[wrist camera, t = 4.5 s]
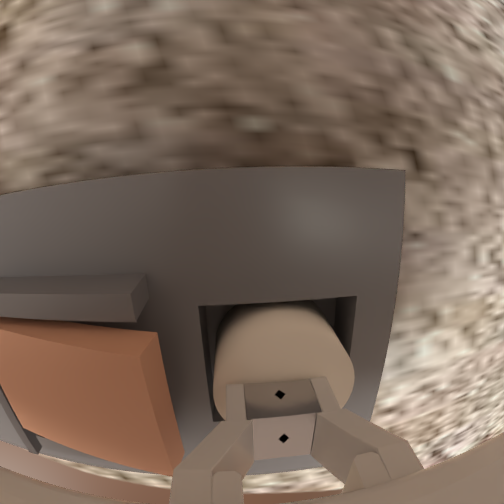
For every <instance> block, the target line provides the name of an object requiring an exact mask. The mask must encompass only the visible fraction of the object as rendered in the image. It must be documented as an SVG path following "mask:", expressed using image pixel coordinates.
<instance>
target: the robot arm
mask: <svg viewBox="0 0 504 504" xmlns="http://www.w3.org/2000/svg"><path fill="white" fill-rule="evenodd" d="M309 454H311V456H312V457H313V458H314V459H315V460H317V461H318V462H319V463H320V464H321V465H322V466H324V467H325V468H326V469H327V470H328V471H329V472H331V473H332V474H333V475H334V476H335V477H337V478H338V479H339V480H340V481H342V482H343V483H344V484H345V486H344V488H343V491H342V494H338V495H333V496H328V497H322V498H316V499H310V500H304V501H297V502H290V503H281V504H504V432H503V433H501V434H499V435H498V436H496V437H494V438H492V439H490V440H488V441H486V442H484V443H482V444H481V445H479V446H477V447H475V448H472V449H470V450H468V451H466V452H464V453H462V454H460V455H458V456H455V457H453V458H451V459H448V460H446V461H444V462H441V463H439V464H436V465H434V466H431V467H429V468H426V469H424V468H423V466H422V464H421V463H420V461H419V459H418V458H417V456H416V454H415V453H414V451H413V449H412V448H411V446H410V444H409V443H408V441H407V440H405V439H403V438H401V437H399V436H397V435H395V434H393V433H391V432H389V431H387V430H385V429H383V428H381V427H379V426H377V425H375V424H373V423H371V422H370V421H368V420H366V419H364V418H362V417H360V416H358V415H357V414H355V413H353V412H351V411H349V410H347V409H341V408H340V406H339V404H338V401H337V399H336V397H335V395H334V393H333V391H332V388H331V386H330V384H329V382H328V380H327V378H326V377H325V376H321V377H314V378H308V379H302V380H293V381H283V382H266V383H244V385H243V384H226V421H221V422H220V423H219V424H218V425H217V426H216V427H215V428H214V429H213V430H212V431H211V432H210V433H209V434H208V435H207V436H206V437H205V439H204V440H203V441H202V442H201V443H200V444H199V445H198V446H197V447H196V448H195V449H194V450H193V451H192V452H191V453H190V454H189V455H188V456H187V457H186V458H185V459H184V460H183V461H182V462H181V463H180V464H179V465H178V466H177V467H176V468H174V470H173V478H172V485H171V493H170V501H169V504H244V499H243V488H242V480H243V479H244V477H245V475H246V474H247V472H248V471H249V469H250V468H251V466H252V464H253V463H254V460H263V459H272V458H280V457H291V456H300V455H309ZM0 504H147V503H138V502H130V501H124V500H117V499H111V498H106V497H101V496H96V495H91V494H87V493H83V492H78V491H74V490H70V489H66V488H63V487H59V486H56V485H52V484H49V483H46V482H42V481H39V480H36V479H33V478H30V477H27V476H24V475H22V474H19V473H16V472H13V471H11V470H8V469H6V468H3V467H1V466H0Z"/></svg>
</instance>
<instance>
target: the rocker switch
mask: <svg viewBox="0 0 504 504" xmlns="http://www.w3.org/2000/svg"><path fill="white" fill-rule="evenodd" d="M0 384H1V386H2V389H3V391H4V393H5V395H6V397H7V399H8V401H9V403H10V405H11V406H12V408H13V410H14V412H15V414H16V416H17V418H18V419H19V421H20V423H21V425H22V426H23V428H25V429H27V430H29V431H31V432H33V433H36V434H38V435H40V436H42V437H45V438H47V439H49V440H52V441H54V442H57V443H59V444H62V445H64V446H67V447H69V448H72V449H75V450H77V451H80V452H83V453H86V454H89V455H92V456H95V457H98V458H101V459H104V460H107V461H111V462H114V463H117V464H121V465H125V466H128V467H132V468H136V469H140V470H144V471H148V472H153V473H157V474H162V475H167V476H172V477H173V470H174V468H176V467H177V466H178V465H179V464H180V463H181V461H182V459H183V456H184V453H185V451H184V448H183V444H182V440H181V437H180V433H179V429H178V425H177V421H176V418H175V414H174V409H173V405H172V401H171V397H170V393H169V388H168V384H167V379H166V374H165V370H164V365H163V360H162V355H161V350H160V344H159V339H158V333H157V332H148V331H138V330H128V329H119V328H111V327H103V326H95V325H87V324H80V323H73V322H67V321H60V320H42V319H26V318H11V317H0Z"/></svg>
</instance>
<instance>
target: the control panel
mask: <svg viewBox="0 0 504 504" xmlns="http://www.w3.org/2000/svg"><path fill="white" fill-rule="evenodd" d="M404 204H405V170H394V169H379V168H360V167H324V166H272V167H236V168H213V169H196V170H181V171H168V172H156V173H145V174H135V175H126V176H117V177H108V178H100V179H92V180H85V181H78V182H71V183H64V184H58V185H51V186H45V187H39V188H34V189H28V190H23V191H17V192H12V193H7V194H2V195H0V317H11V318H26V319H42V320H60V321H67V322H73V323H80V324H87V325H95V326H103V327H111V328H119V329H128V330H138V331H148V332H157V333H158V339H159V344H160V350H161V355H162V360H163V365H164V370H165V374H166V379H167V384H168V388H169V393H170V397H171V401H172V405H173V409H174V414H175V418H176V421H177V425H178V429H179V433H180V437H181V440H182V444H183V448H184V451H185V453H184V456H183V459H182V461H183V460H184V459H185V458H186V457H187V456H188V455H189V454H190V453H191V452H192V451H193V450H194V449H195V448H196V447H197V446H198V445H199V444H200V443H201V442H202V441H203V440H204V439H205V437H206V436H207V435H208V434H209V433H210V432H211V431H212V430H213V429H214V428H215V427H216V426H217V425H218V424H219V423H220V422H221V421H225V420H224V419H223V418H222V417H221V415H220V414H219V412H218V410H217V408H216V406H215V403H214V398H213V382H214V364H215V347H216V336H217V332H218V328H219V326H220V324H221V322H222V320H223V318H224V317H225V315H226V314H227V313H228V312H229V311H230V310H231V309H232V308H233V307H234V306H235V305H236V304H251V303H268V302H284V301H299V300H311V301H312V302H313V303H314V304H316V305H317V306H318V308H319V309H320V310H321V311H322V313H323V314H324V316H325V317H326V319H327V321H328V322H329V324H330V326H331V327H332V329H333V331H334V332H335V334H336V336H337V337H338V339H339V341H340V342H341V344H342V346H343V347H344V349H345V351H346V352H347V354H348V356H349V357H350V359H351V362H352V364H353V368H354V375H355V379H354V386H353V390H352V392H351V395H350V397H349V399H348V401H347V402H346V404H345V405H344V407H343V408H342V409H347V410H349V411H351V412H353V413H355V414H357V415H358V416H360V417H362V418H364V419H366V420H368V421H370V419H371V416H372V412H373V408H374V405H375V401H376V397H377V393H378V389H379V385H380V381H381V376H382V372H383V367H384V363H385V358H386V353H387V348H388V343H389V337H390V332H391V326H392V320H393V314H394V308H395V301H396V294H397V286H398V278H399V270H400V260H401V250H402V238H403V223H404ZM0 440H1V441H4V442H6V443H9V444H12V445H15V446H18V447H21V448H24V449H27V450H28V451H29V452H31V453H34V454H39V453H41V454H44V455H48V456H52V457H56V458H60V459H64V460H68V461H73V462H77V463H82V464H87V465H92V466H98V467H104V468H110V469H116V470H124V471H131V472H140V473H150V474H157V473H153V472H148V471H144V470H140V469H136V468H132V467H128V466H125V465H121V464H117V463H114V462H111V461H107V460H104V459H101V458H98V457H95V456H92V455H89V454H86V453H83V452H80V451H77V450H75V449H72V448H69V447H67V446H64V445H62V444H59V443H57V442H54V441H52V440H49V439H47V438H45V437H42V436H40V435H38V434H36V433H33V432H31V431H29V430H27V429H25V428H23V426H22V425H21V423H20V421H19V419H18V418H17V416H16V414H15V412H14V410H13V408H12V406H11V405H10V403H9V401H8V399H7V397H6V395H5V393H4V391H3V389H2V386H1V384H0ZM182 461H181V462H182ZM317 467H323V466H322V465H321V464H320V463H319V462H318V461H317V460H315V459H314V458H313V457H312V456H311V454H309V455H300V456H291V457H280V458H272V459H263V460H254V463H253V464H252V466H251V468H250V469H249V471H248V472H247V474H246V475H256V474H269V473H279V472H288V471H296V470H304V469H311V468H317Z"/></svg>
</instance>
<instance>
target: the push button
mask: <svg viewBox="0 0 504 504" xmlns="http://www.w3.org/2000/svg"><path fill="white" fill-rule="evenodd" d="M321 376H325V377H326V378H327V380H328V382H329V384H330V386H331V388H332V391H333V393H334V395H335V397H336V399H337V401H338V404H339V406H340V408H341V409H342V408H343V407H344V405H345V404H346V402H347V401H348V399H349V397H350V395H351V392H352V390H353V386H354V379H355V375H354V368H353V364H352V362H351V359H350V357H349V356H348V354H347V352H346V351H345V349H344V347H343V346H342V344H341V342H340V341H339V339H338V337H337V336H336V334H335V332H334V331H333V329H332V327H331V326H330V324H329V322H328V321H327V319H326V317H325V316H324V314H323V313H322V311H321V310H320V309H319V308H318V306H317V305H316V304H314V303H313V302H312V301H311V300H299V301H284V302H268V303H251V304H236V305H235V306H234V307H233V308H232V309H231V310H230V311H229V312H228V313H227V314H226V315H225V317H224V318H223V320H222V322H221V324H220V326H219V328H218V332H217V336H216V347H215V364H214V382H213V398H214V403H215V406H216V408H217V410H218V412H219V414H220V415H221V417H222V418H223V419H224V420H225V421H226V384H243V385H244V383H266V382H283V381H293V380H302V379H308V378H314V377H321Z"/></svg>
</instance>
